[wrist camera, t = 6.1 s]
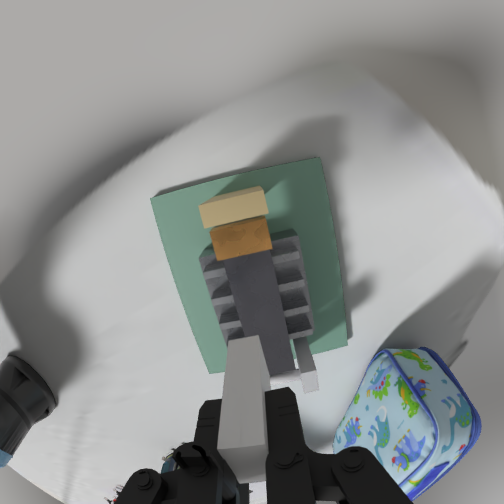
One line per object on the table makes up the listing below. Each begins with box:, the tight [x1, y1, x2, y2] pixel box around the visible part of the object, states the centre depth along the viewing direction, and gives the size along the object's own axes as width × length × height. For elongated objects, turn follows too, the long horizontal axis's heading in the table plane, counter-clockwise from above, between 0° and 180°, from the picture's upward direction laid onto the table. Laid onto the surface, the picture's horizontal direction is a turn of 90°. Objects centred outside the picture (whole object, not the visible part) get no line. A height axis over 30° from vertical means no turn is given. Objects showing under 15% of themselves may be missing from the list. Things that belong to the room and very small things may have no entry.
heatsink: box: [199, 229, 315, 350], centre depth 29 cm, size 10×11×6 cm
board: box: [150, 157, 348, 394], centre depth 28 cm, size 19×24×10 cm
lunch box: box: [333, 347, 481, 501], centre depth 29 cm, size 26×11×21 cm, turn 172°
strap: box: [209, 215, 296, 375], centre depth 25 cm, size 4×16×2 cm, turn 13°
